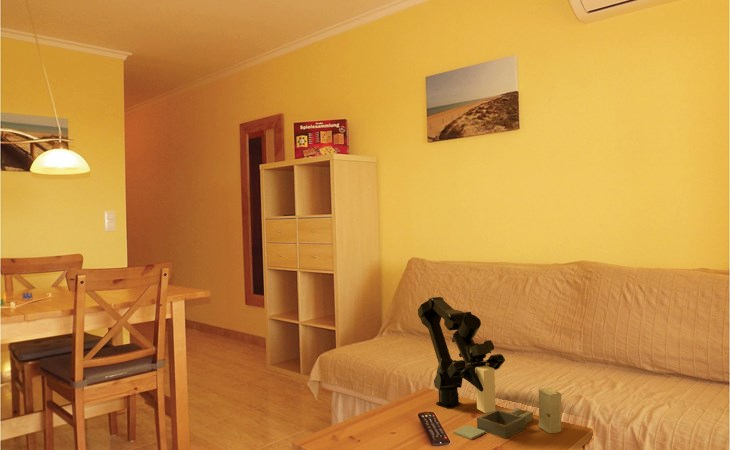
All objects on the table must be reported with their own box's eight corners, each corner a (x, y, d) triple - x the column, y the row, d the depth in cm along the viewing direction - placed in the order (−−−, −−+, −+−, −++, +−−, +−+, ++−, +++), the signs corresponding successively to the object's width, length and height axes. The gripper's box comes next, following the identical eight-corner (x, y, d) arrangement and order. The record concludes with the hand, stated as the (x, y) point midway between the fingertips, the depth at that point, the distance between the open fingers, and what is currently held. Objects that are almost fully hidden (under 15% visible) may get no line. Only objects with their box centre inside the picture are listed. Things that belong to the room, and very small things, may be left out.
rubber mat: (453, 433, 168) (453, 431, 168) (467, 426, 173) (467, 424, 173) (471, 439, 163) (471, 437, 163) (485, 433, 168) (485, 431, 168)
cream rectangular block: (477, 408, 170) (475, 367, 169) (487, 406, 171) (486, 365, 171) (484, 412, 166) (483, 370, 166) (495, 410, 168) (494, 368, 167)
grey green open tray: (477, 428, 171) (477, 417, 171) (511, 413, 183) (511, 403, 183) (505, 438, 163) (505, 427, 163) (539, 421, 175) (539, 411, 175)
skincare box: (538, 427, 171) (536, 388, 170) (550, 424, 172) (549, 386, 172) (550, 434, 165) (549, 394, 165) (562, 432, 166) (561, 392, 166)
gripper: (451, 335, 168) (472, 381, 158) (500, 328, 175) (524, 371, 165) (438, 355, 175) (458, 399, 166) (486, 347, 183) (508, 389, 173)
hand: (488, 389), depth 167 cm, fingers closed on cream rectangular block, 4 cm apart
